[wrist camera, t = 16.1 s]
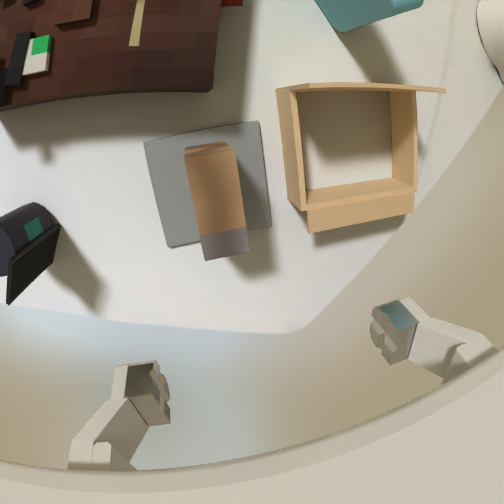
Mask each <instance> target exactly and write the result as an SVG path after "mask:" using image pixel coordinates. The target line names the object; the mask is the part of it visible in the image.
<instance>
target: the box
mask: <svg viewBox="0 0 504 504" xmlns="http://www.w3.org/2000/svg"><path fill="white" fill-rule="evenodd" d="M184 160H185V166H186V171H187V176H188V181H189V186H190V191H191V196H192V201H193V206H194V211H195V216H196V221H197V225H198V230H199V236H200V240H201V245H202V250H203V254H204V259H205V261H208V260H213V259H217V258H222V257H227V256H232V255H236V254H241V253H246V252H250V247H249V240H248V233H247V227H246V221H245V215H244V208H243V201H242V194H241V188H240V181H239V174H238V167H237V160H236V153H235V150H234V149H233V148H232V147H231V146H230V145H228V144H227V143H226V142H225V141H217V142H211V143H206V144H201V145H196V146H191V147H186V148H185V155H184Z"/></svg>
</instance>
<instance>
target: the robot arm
mask: <svg viewBox="0 0 504 504" xmlns="http://www.w3.org/2000/svg"><path fill="white" fill-rule="evenodd" d="M477 22H478V28H479V32H480V36H481V39H482V42H483V44H484V47H485V49H486V51H487V53H488V55H489V57H490V59H491V60H492V62H493V63H494V65H495V66H496V68H497V69H498V71H499V74H500V77H501V79H502V81H503V83H504V0H481V1H480V2H479V4H478V8H477ZM372 316H373V318H374V320H373V322H372V323H371V325H370V334H371V338H372V340H373V342H374V344H375V345H376V347H379V348H381V349H382V355H383V356H384V358H385V359H386V360H387V362H388V363H389V365H392V364H394V363H397V362H400V361H402V360H405V359H407V358H408V360H410V361H412V362H414V363H416V364H418V365H419V366H421V367H423V368H425V369H427V370H429V371H431V372H433V373H434V374H436V375H438V376H440V377H442V378H443V381H442V383H441V385H440V386H439V387H438V388H436V389H434V390H432V391H430V392H428V393H426V394H424V395H422V396H420V397H418V398H416V399H414V400H412V401H410V402H408V403H406V404H404V405H402V406H399V407H397V408H395V409H393V410H391V411H388V412H386V413H384V414H381V415H379V416H377V417H374V418H372V419H369V420H367V421H365V422H362V423H359V424H357V425H354V426H351V427H349V428H346V429H343V430H341V431H338V432H335V433H332V434H329V435H326V436H323V437H320V438H317V439H313V440H311V441H307V442H304V443H300V444H297V445H293V446H290V447H286V448H282V449H278V450H274V451H270V452H266V453H262V454H258V455H253V456H249V457H243V458H239V459H233V460H228V461H222V462H217V463H210V464H203V465H196V466H187V467H178V468H168V469H157V470H136V469H135V468H134V467H133V466H132V465H131V464H130V463H129V462H130V460H131V458H132V456H133V455H134V453H135V451H136V449H137V448H138V446H139V444H140V442H141V441H142V439H143V437H144V435H145V434H146V432H147V430H148V428H149V427H148V426H155V425H162V424H169V423H170V408H169V406H168V404H167V402H168V401H169V399H170V398H169V389H168V384H167V381H166V378H165V376H164V375H163V374H161V373H160V366H159V364H158V362H157V361H155V360H153V361H146V362H137V363H130V364H123V365H117V366H116V368H115V372H114V378H113V384H112V391H111V398H110V399H109V400H106V401H105V403H104V404H103V405H102V406H101V407H100V408H99V410H98V411H97V412H96V413H95V414H94V416H93V417H92V418H91V419H90V420H89V421H88V423H87V424H86V425H85V426H84V427H83V428H82V430H81V431H80V432H79V433H78V434H77V435H76V437H75V438H74V439H73V440H72V442H71V449H70V455H69V462H68V469H56V468H47V467H38V466H30V465H24V464H18V463H12V462H7V461H2V460H0V504H504V347H502V348H501V349H499V350H497V349H496V348H495V347H494V346H493V345H492V344H491V343H490V342H489V341H488V340H487V339H486V338H485V337H484V336H483V335H482V334H481V333H479V332H476V331H473V330H470V329H467V328H464V327H461V326H458V325H455V324H451V323H449V322H445V321H442V320H440V319H437V318H434V317H433V318H429V316H428V315H427V314H426V313H425V312H424V311H423V310H422V309H421V308H420V307H418V305H417V304H416V303H415V302H414V301H413V300H412V299H410V297H408V296H405V297H402V298H399V299H396V300H394V301H391V302H388V303H385V304H382V305H379V306H376V307H374V309H373V311H372Z"/></svg>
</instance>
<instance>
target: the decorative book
mask: <svg viewBox="0 0 504 504" xmlns="http://www.w3.org/2000/svg"><path fill="white" fill-rule="evenodd" d="M224 6H243V0H0V111H5V110H9V109H13V108H18V107H23V106H28V105H33V104H39V103H44V102H50V101H57V100H63V99H71V98H79V97H87V96H97V95H108V94H122V93H140V92H209V91H210V90H211V89H212V88H213V76H214V64H215V54H216V44H217V34H218V25H219V16H220V7H224Z"/></svg>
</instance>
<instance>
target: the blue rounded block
mask: <svg viewBox="0 0 504 504" xmlns="http://www.w3.org/2000/svg"><path fill="white" fill-rule="evenodd" d="M315 1H316V2H317V4H318V5H319V7H320V8H321V10H322V11H323V13H324V14H325V16H326V17H327V19H328V21H329V22H330V24H331V25H332V26H333V27H334V28H335V29H336V30H338V31H340V32H346V31H349V30H352V29H354V28H357V27H360V26H363V25H366V24H369V23H372V22H375V21H379V20H382V19H385V18H388V17H392V16H395V15H398V14H401V13H404V12H407V11H410V10H413V9H416V8H419V7H421V6H422V4H423V1H424V0H315Z"/></svg>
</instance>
